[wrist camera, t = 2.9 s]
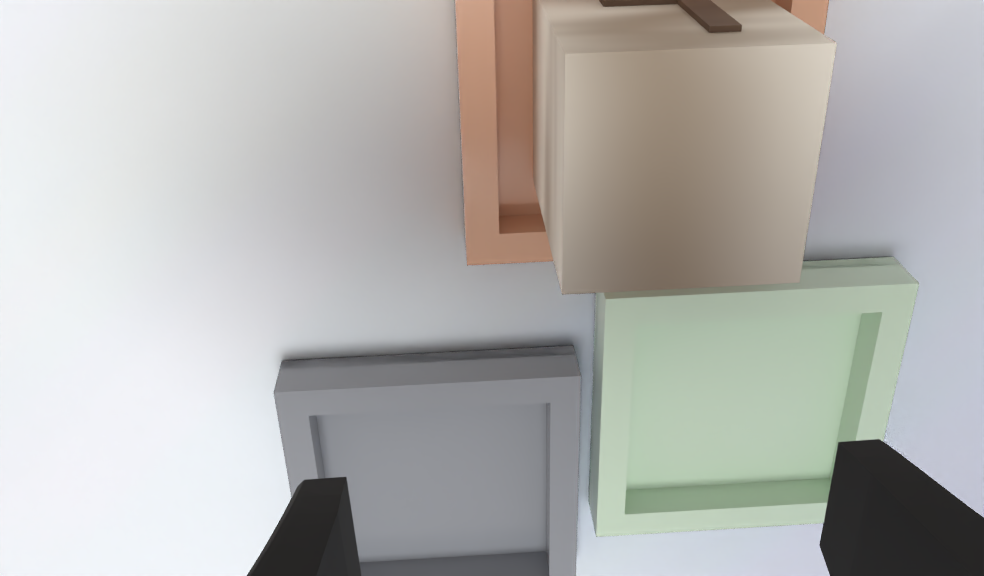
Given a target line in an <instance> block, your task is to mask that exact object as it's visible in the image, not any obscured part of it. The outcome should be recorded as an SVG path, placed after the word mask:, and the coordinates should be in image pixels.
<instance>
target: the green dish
mask: <svg viewBox="0 0 984 576" xmlns="http://www.w3.org/2000/svg"><path fill="white" fill-rule="evenodd" d="M918 287H919V283H918V282H917V281H916V279H915V278H914V277H913V276H912V275H911V274H910V273H909V272H908V271H907V270H906V269H905V268H904V267H903V266H902V265H901V264H900V263H899V262H898V261H897V260H896V259H895V258H894V257H881V258H860V259H840V260H820V261H803V264H802V270H801V277H800V283H782V284H762V285H742V286H722V287H703V288H683V289H663V290H643V291H623V292H603V293H596V300H595V330H594V359H593V389H592V418H591V448H590V478H589V506H590V510H591V515H592V520H593V524H594V529H595V533H596V537H602V536H619V535H635V534H652V533H669V532H685V531H702V530H718V529H735V528H752V527H768V526H785V525H801V524H818V523H824V518H825V513H826V507H827V502H828V496H829V491H830V485H831V480H832V474H833V469H834V463H835V458H836V452H837V447H838V442H845V441H860V440H874V439H880V440H881V441H883V440H884V436H885V431H886V427H887V423H888V418H889V414H890V409H891V405H892V401H893V396H894V392H895V388H896V383H897V379H898V374H899V370H900V366H901V361H902V357H903V352H904V348H905V344H906V339H907V335H908V331H909V326H910V322H911V317H912V313H913V309H914V304H915V300H916V296H917V291H918Z"/></svg>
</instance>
